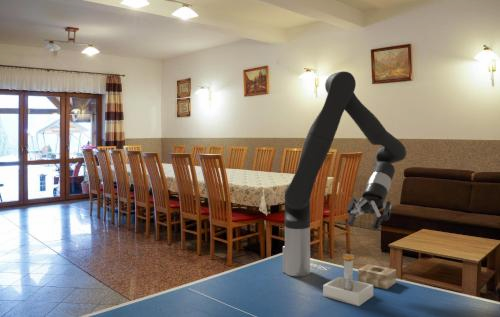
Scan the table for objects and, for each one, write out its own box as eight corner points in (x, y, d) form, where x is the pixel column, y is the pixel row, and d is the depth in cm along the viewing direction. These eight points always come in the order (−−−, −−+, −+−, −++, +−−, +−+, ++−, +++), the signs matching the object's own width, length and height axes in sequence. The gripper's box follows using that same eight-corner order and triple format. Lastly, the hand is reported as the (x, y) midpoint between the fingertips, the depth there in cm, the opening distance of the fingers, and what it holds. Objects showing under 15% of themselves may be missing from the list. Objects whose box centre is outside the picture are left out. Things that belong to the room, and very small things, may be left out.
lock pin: (340, 294, 130) (340, 255, 129) (345, 291, 133) (345, 253, 132) (350, 297, 128) (350, 257, 127) (355, 293, 131) (355, 255, 130)
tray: (323, 296, 130) (323, 285, 130) (338, 287, 138) (338, 276, 138) (358, 306, 123) (358, 294, 122) (373, 295, 130) (373, 284, 130)
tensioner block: (358, 282, 142) (358, 269, 142) (368, 276, 148) (368, 263, 148) (386, 289, 136) (386, 275, 135) (396, 282, 142) (396, 269, 141)
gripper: (354, 180, 147) (338, 217, 139) (394, 182, 138) (379, 223, 129) (361, 193, 151) (346, 230, 143) (400, 197, 142) (386, 236, 134)
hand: (362, 226), depth 136 cm, fingers open, 8 cm apart
